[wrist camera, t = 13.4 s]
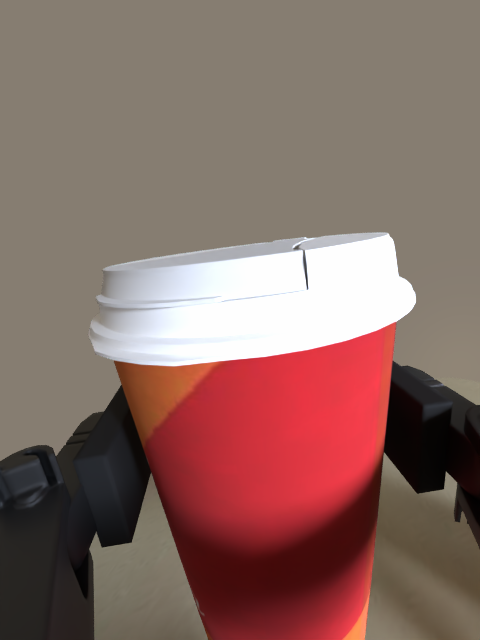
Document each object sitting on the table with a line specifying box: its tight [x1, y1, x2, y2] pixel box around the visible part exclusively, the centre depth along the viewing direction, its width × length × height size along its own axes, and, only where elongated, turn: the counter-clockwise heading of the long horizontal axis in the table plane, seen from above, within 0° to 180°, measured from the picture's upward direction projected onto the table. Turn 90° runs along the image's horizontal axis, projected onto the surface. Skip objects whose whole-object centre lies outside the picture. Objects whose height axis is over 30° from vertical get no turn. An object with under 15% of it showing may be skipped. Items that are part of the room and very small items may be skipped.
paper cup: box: [88, 232, 416, 640], centre depth 9 cm, size 8×8×14 cm
